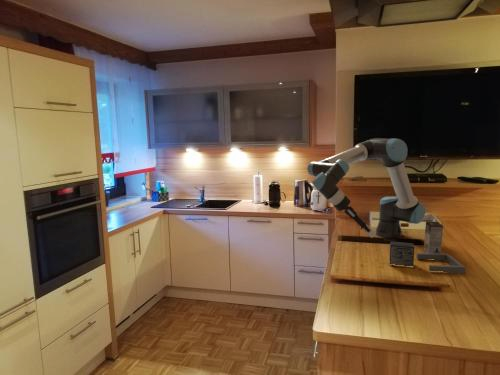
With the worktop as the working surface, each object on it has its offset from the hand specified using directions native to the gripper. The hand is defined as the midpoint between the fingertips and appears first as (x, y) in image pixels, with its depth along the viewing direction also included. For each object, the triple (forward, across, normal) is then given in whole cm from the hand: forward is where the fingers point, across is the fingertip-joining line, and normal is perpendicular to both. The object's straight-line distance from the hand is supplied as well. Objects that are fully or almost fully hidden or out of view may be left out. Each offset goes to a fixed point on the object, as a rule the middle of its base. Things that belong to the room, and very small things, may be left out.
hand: (373, 235), depth 178 cm
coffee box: (+34, -18, +14) cm, 42 cm away
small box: (+20, 0, 0) cm, 20 cm away
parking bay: (+32, 0, +12) cm, 34 cm away
